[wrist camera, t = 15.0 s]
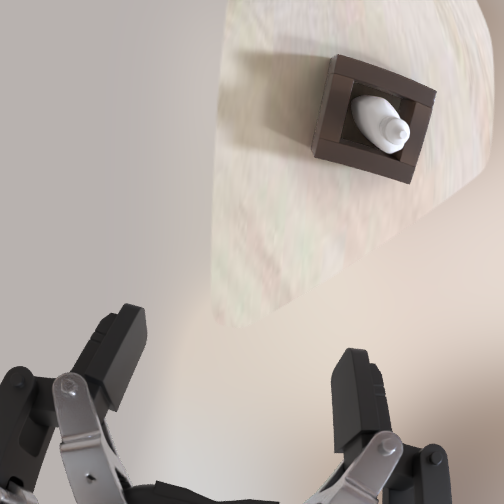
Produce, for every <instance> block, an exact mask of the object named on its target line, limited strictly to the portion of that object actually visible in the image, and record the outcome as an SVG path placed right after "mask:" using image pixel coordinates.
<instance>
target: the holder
mask: <svg viewBox="0 0 504 504" xmlns="http://www.w3.org/2000/svg"><path fill="white" fill-rule="evenodd" d="M354 82H355V83H358V84H362V85H365V86H368V87H371V88H374V89H377V90H380V91H382V92H385V93H388V94H391V95H393V96H396V97H399V98H401V99H402V100H401V104H400V108H399V112H398V115H399V117H400V119H402V120H404V121H405V122H406V123H407V124H408V127H409V129H410V130H409V131H410V135H409V138H408V140H407V141H406V142H405V143H404V146H403V148H402V149H400V150H398V151H396V152H393V153H386V152H384V151H382V150H379V149H376V148H373V147H369V146H366V145H363V144H360V143H356V142H353V141H349V140H346V139H342V138H340V137H341V133H342V129H343V125H344V121H345V117H346V113H347V109H348V105H349V100H350V96H351V92H352V87H353V83H354ZM436 92H437V91H435V90H433V89H431V88H429V87H427V86H425V85H422V84H420V83H418V82H416V81H413V80H411V79H408V78H406V77H404V76H401V75H399V74H396V73H393V72H391V71H388V70H386V69H383V68H380V67H377V66H374V65H371V64H368V63H365V62H362V61H359V60H356V59H353V58H350V57H346V56H343V55H339V54H337V55H336V56H334V57H332V58H331V61H330V66H329V71H328V75H327V80H326V85H325V89H324V94H323V98H322V103H321V107H320V112H319V116H318V120H317V125H316V129H315V133H314V137H313V142H312V146H311V150H312V153H313V155H314V157H315V158H319V159H323V160H327V161H331V162H335V163H339V164H343V165H346V166H350V167H354V168H357V169H361V170H364V171H368V172H371V173H375V174H378V175H381V176H384V177H388V178H391V179H394V180H397V181H400V182H403V183H406V184H410V182H411V179H412V176H413V173H414V170H415V167H416V164H417V161H418V158H419V155H420V151H421V148H422V145H423V142H424V138H425V135H426V131H427V128H428V124H429V120H430V117H431V113H432V108H433V105H434V100H435V96H436Z"/></svg>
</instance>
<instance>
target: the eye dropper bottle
mask: <svg viewBox="0 0 504 504" xmlns="http://www.w3.org/2000/svg"><path fill="white" fill-rule="evenodd" d="M351 110H352V115H353V118H354V121H355V123H356V125H357V127H358V129H359V130H360V132H361V133H362V134H363V135H364V136H365V137H366V138H367V139H368V140H369V141H370V142H372V143H373V144H374V145H376V146H377V147H378V148H380V149H381V150H383V151H384V152H386V153H393V152H396V151H398V150H400V149H402V148H403V146H404V143H405V142H406V141H407V140H408V138H409V135H410V131H409V130H410V129H409V127H408V124H407V123H406V122H405V121H404V120H402V119H400V117H399V115H398V113H397V112H396V110H395V109H394V108H393V107H392V105H391V104H390V103H389V102H388V101H386V100H385V99H383V98H381V97H376V96H370V95H362V96H359V97H357V98H354V99H353V100H352V101H351Z"/></svg>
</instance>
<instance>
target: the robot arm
mask: <svg viewBox="0 0 504 504" xmlns="http://www.w3.org/2000/svg"><path fill="white" fill-rule="evenodd" d="M146 340H147V327H146V319H145V310H144V308H142V307H138V306H135V305H131V304H127V303H126V304H124V305H123V307H122V308H121V310H120V312H119V313H118V314H114V313H110V314H109V315H108V316H106V317H105V318H103V319H102V320H101V321H100V323H99V325H98V326H97V328H96V330H95V332H94V333H93V334H92V336H91V338H90V340H89V341H88V343H87V344H86V346H85V348H84V349H83V351H82V353H81V355H80V356H79V358H78V360H77V362H76V363H75V365H74V367H73V368H72V370H71V371H70V372H69V373H64V374H62V375H60V376H59V377H57V378H44V377H36V376H33V374H32V373H31V371H30V370H29V369H28V368H26V367H23V366H17V367H14V368H12V369H10V370H9V371H8V372H7V374H6V375H5V377H4V379H3V381H2V382H1V384H0V504H39V503H38V500H37V499H36V497H35V496H34V495H33V491H34V488H35V485H36V481H37V478H38V475H39V472H40V469H41V466H42V463H43V460H44V457H45V454H46V451H47V448H48V446H49V443H50V440H51V438H52V435H53V432H54V430H55V427H59V429H60V433H61V437H62V443H60V453H61V457H62V460H63V464H64V467H65V471H66V474H67V477H68V480H69V483H70V486H71V489H72V492H73V494H74V497H75V500H76V502H77V504H279V502H274V501H262V500H252V499H247V500H236V501H223V502H222V501H221V502H218V501H214V500H211V499H209V498H206V497H204V496H202V495H199V494H197V493H195V492H193V491H191V490H189V489H187V488H182V487H179V486H175V485H171V484H167V483H164V482H160V481H156V483H155V485H153V484H150V485H149V484H147V485H138V486H133V485H132V483H131V481H130V478H129V476H128V474H127V472H126V469H125V467H124V466H123V464H122V462H121V460H120V458H119V455H118V453H117V450H116V448H115V445H114V442H113V440H112V437H111V434H110V431H109V428H108V425H107V423H106V419H105V416H106V413H107V411H108V409H110V410H112V411H115V412H117V410H118V408H119V405H120V403H121V400H122V398H123V396H124V393H125V391H126V388H127V386H128V384H129V382H130V379H131V377H132V375H133V372H134V370H135V368H136V366H137V363H138V361H139V359H140V356H141V354H142V352H143V350H144V348H145V345H146ZM383 386H384V383H383V378H382V374H381V372H380V371H379V369H378V368H377V366H376V365H375V364H372V363H369V358H368V353H367V351H366V350H363V349H354V348H347V349H346V350H345V352H344V354H343V355H342V357H341V359H340V360H339V362H338V364H337V365H336V367H335V368H334V371H333V373H332V377H331V392H332V406H333V426H334V453H344V460H342V462H341V463H340V464H339V465H338V467H337V468H336V469H335V470H334V472H333V473H332V474H331V475H330V476H329V478H328V479H327V480H326V481H325V483H324V484H323V485H322V486H321V487H320V488H319V489H318V490H317V492H316V493H315V494H314V495H312V496H311V497H310V498H309V499H308V500H306V501H305V502H304V503H303V504H378V502H379V500H378V499H377V496H378V494H379V492H380V491H381V489H382V488H383V498H382V504H452V498H451V497H452V496H451V484H450V475H449V466H448V459H447V454H446V452H445V450H444V449H443V448H442V447H441V446H439V445H437V444H429V445H427V446H426V447H424V448H423V449H421V448H417V447H413V446H410V445H406V444H404V443H402V441H401V439H400V438H399V436H398V435H396V434H395V433H393V431H392V428H391V422H390V416H389V410H388V404H387V399H386V397H385V394H386V393H385V389H384V387H383Z"/></svg>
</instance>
